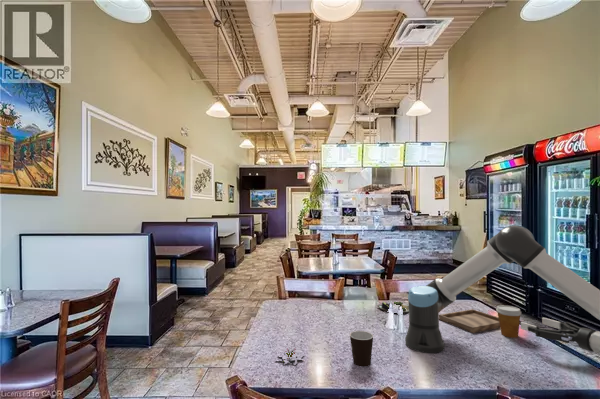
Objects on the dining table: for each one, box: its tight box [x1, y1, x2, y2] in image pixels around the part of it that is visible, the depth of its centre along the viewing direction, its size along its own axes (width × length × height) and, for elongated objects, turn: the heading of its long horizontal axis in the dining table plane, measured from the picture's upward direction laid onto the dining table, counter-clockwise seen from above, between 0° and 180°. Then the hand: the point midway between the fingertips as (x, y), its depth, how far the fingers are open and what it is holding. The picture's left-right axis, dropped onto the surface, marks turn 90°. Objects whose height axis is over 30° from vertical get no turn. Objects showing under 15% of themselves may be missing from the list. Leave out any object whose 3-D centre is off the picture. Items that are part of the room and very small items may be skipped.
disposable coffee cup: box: [495, 305, 522, 339], centre depth 139 cm, size 10×10×12 cm
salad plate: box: [376, 300, 409, 315], centre depth 180 cm, size 19×18×5 cm
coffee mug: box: [349, 330, 374, 368], centre depth 116 cm, size 12×9×10 cm
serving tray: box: [439, 308, 500, 334], centre depth 155 cm, size 24×20×2 cm
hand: (532, 322), depth 130 cm, fingers open, 13 cm apart
